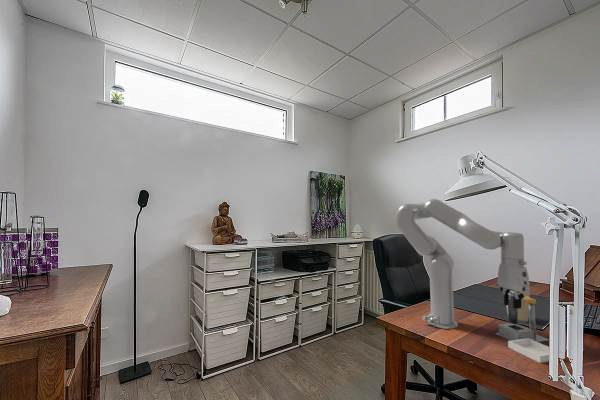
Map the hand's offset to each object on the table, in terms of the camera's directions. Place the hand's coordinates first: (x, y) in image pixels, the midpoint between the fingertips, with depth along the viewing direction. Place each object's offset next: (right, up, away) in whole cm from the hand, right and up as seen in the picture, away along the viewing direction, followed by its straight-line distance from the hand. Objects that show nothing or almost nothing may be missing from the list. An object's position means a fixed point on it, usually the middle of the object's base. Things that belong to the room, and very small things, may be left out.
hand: (512, 306), depth 110 cm
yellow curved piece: (+11, 0, +7) cm, 13 cm away
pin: (0, -7, 0) cm, 7 cm away
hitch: (+4, -13, 0) cm, 14 cm away
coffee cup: (+18, -14, +20) cm, 30 cm away
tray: (-3, -13, -13) cm, 18 cm away
